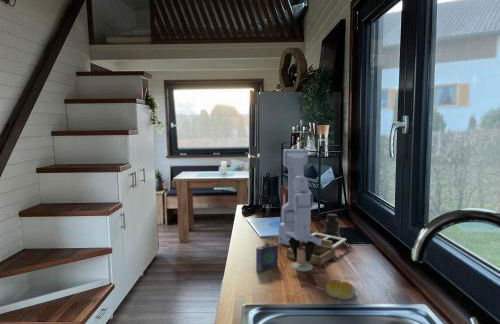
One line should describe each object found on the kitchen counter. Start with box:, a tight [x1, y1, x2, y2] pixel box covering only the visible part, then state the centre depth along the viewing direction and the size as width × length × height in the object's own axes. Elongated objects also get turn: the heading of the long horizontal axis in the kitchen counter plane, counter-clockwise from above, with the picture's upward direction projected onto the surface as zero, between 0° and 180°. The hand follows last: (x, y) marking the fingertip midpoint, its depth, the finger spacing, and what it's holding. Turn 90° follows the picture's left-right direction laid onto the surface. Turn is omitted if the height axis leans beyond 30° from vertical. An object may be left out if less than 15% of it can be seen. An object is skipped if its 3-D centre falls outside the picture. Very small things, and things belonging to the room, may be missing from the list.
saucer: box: [291, 261, 314, 272], centre depth 136 cm, size 8×8×1 cm
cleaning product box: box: [279, 184, 288, 223], centre depth 190 cm, size 16×9×20 cm, turn 6°
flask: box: [255, 240, 279, 273], centre depth 134 cm, size 9×3×11 cm, turn 121°
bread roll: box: [325, 279, 356, 301], centre depth 116 cm, size 8×9×4 cm
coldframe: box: [286, 241, 336, 267], centre depth 146 cm, size 15×13×4 cm
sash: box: [302, 232, 347, 249], centre depth 155 cm, size 15×13×3 cm
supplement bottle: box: [323, 213, 341, 243], centre depth 167 cm, size 7×7×12 cm
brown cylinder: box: [296, 246, 308, 265], centre depth 136 cm, size 4×4×6 cm
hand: (302, 259), depth 136 cm, fingers closed on brown cylinder, 4 cm apart
